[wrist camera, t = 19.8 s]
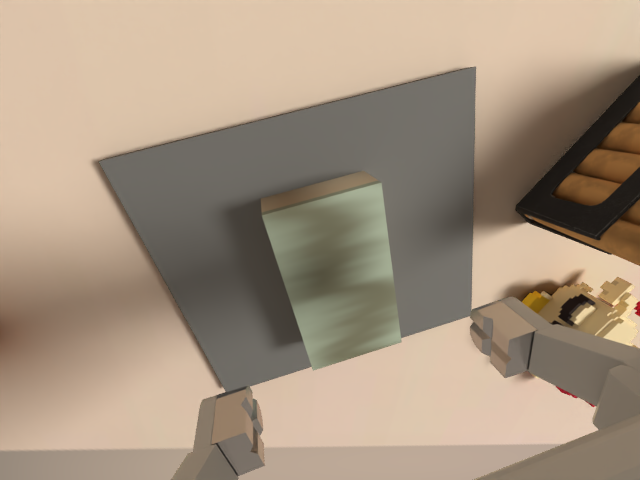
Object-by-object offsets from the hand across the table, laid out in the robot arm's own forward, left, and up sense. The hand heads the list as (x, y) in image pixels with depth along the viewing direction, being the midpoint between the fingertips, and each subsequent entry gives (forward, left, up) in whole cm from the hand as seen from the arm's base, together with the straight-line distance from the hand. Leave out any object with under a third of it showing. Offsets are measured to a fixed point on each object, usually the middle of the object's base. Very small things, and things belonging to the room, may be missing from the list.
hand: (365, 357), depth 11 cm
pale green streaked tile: (0, -6, -6) cm, 9 cm away
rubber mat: (0, 0, -8) cm, 8 cm away
